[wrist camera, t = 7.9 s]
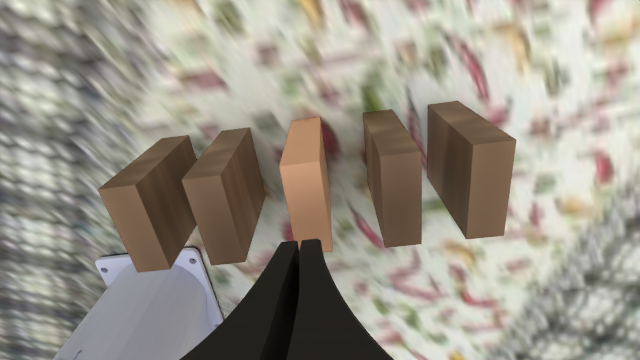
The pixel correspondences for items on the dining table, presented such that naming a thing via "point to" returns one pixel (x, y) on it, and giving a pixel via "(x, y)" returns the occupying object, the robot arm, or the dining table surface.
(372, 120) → the domino
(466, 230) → the domino
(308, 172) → the domino
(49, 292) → the dining table surface
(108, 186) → the domino
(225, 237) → the domino
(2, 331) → the dining table surface
